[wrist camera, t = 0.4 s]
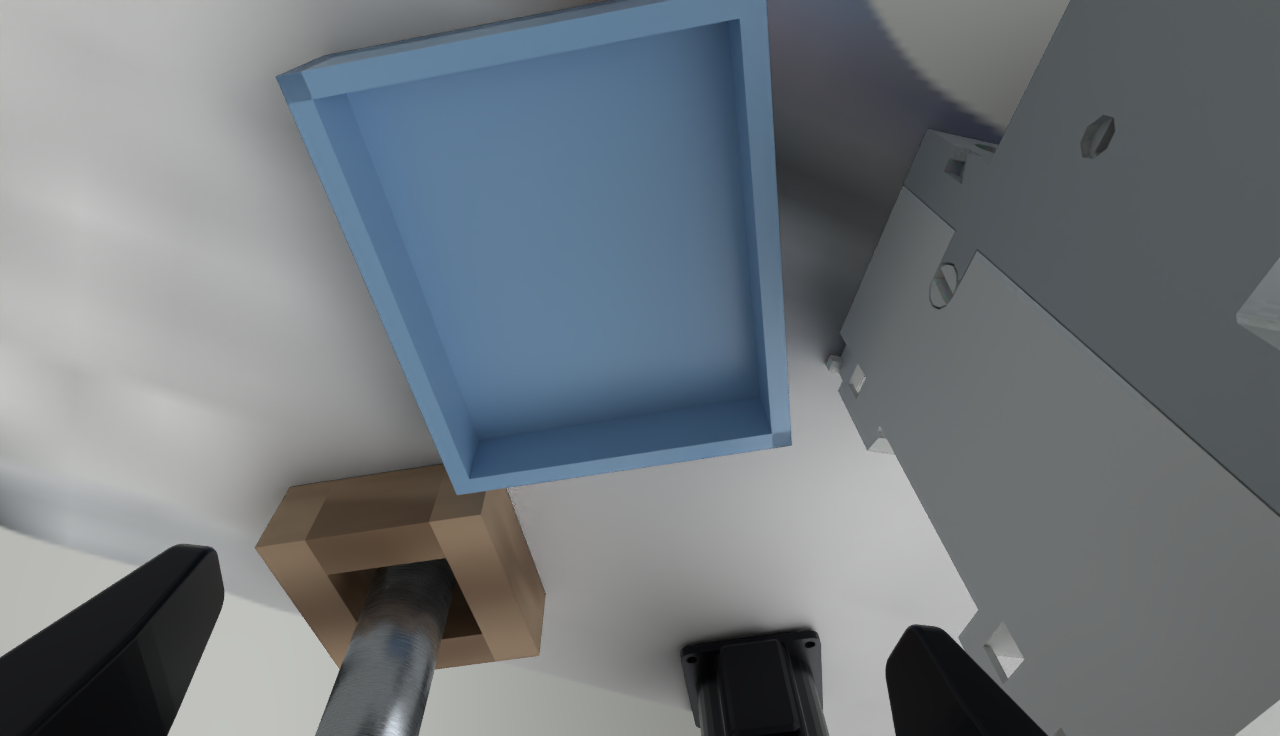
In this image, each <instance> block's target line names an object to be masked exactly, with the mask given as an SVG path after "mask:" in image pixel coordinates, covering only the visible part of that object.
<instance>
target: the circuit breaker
mask: <svg viewBox="0 0 1280 736" xmlns="http://www.w3.org/2000/svg"><path fill="white" fill-rule="evenodd" d="M840 334H841V336H842V337H843V339H844V341H845V343H846V346H845V348H844V350H843V352H842V355H841V357H840V356H835V355H830V357H829V359H828V361H827V364H826V367H827V369H828V371H831V372H837V373H839V374H840V375H841V377H842V379H843V381H842V383H841V386H840V388H839V390H838V391H839V393H840V395H841V397H842V399H843V401H844V404H845V406H846V408H847V410H848V412H849V414H850V416H851V418H852V420H853V422H854V424H855V426H856V428H857V430H858V432H859V434H860V436H861V438H862V440H863V443H864V445H865V447H866V449H867V450H868V451H874V452H881V453H887V454H894V455H896V457H897V459H898V461H899V463H900V465H901V466H902V468H903V470H904V472H905V474H906V476H907V478H908V479H909V481H910V483H911V485H912V487H913V489H914V491H915V493H916V494H917V496H918V498H919V500H920V502H921V504H922V506H923V507H924V509H925V511H926V513H927V515H928V517H929V519H930V520H931V522H932V524H933V526H934V528H935V530H936V532H937V534H938V535H939V537H940V539H941V541H942V543H943V545H944V547H945V548H946V550H947V552H948V554H949V556H950V558H951V560H952V562H953V563H954V565H955V567H956V569H957V571H958V573H959V575H960V576H961V578H962V580H963V582H964V584H965V586H966V588H967V590H968V591H969V593H970V595H971V597H972V599H973V601H974V603H975V604H976V606H977V608H978V611H977V613H976V614H975V615H974V617H973V618H972V619H971V621H970V622H969V623H968V625H967V626H966V627H965V629H964V630H963V631H962V633H961V634H960V635H959V637H958V638H959V640H960V642H961V644H962V646H963V648H964V650H965V652H966V653H967V654H968V655H969V656H970V657H971V658H972V659H973V660H974V661H975V662H976V663H977V664H978V665H979V666H980V667H981V668H982V669H983V670H984V671H985V672H986V673H987V674H988V675H989V676H990V677H991V678H992V679H993V680H994V681H995V682H996V683H997V684H998V685H999V686H1000V687H1001V688H1002V689H1003V690H1004V691H1005V692H1006V693H1007V694H1008V695H1009V696H1010V697H1011V698H1012V699H1013V700H1014V701H1015V702H1016V703H1017V704H1018V705H1019V706H1020V707H1021V708H1022V709H1023V710H1024V711H1025V713H1026V714H1027V715H1028V716H1029V717H1030V718H1031V719H1032V720H1033V721H1034V722H1035V723H1036V724H1037V725H1038V726H1039V727H1040V728H1041V729H1042V730H1043V731H1044V732H1045V733H1046V734H1047V735H1048V736H1280V0H1071V1H1070V2H1069V4H1068V6H1067V9H1066V10H1065V13H1064V15H1063V17H1062V18H1061V21H1060V23H1059V25H1058V27H1057V29H1056V31H1055V33H1054V35H1053V37H1052V39H1051V41H1050V43H1049V45H1048V47H1047V49H1046V51H1045V53H1044V55H1043V57H1042V59H1041V61H1040V63H1039V65H1038V67H1037V69H1036V71H1035V73H1034V75H1033V77H1032V79H1031V81H1030V83H1029V85H1028V87H1027V89H1026V91H1025V93H1024V95H1023V97H1022V99H1021V101H1020V103H1019V105H1018V107H1017V109H1016V111H1015V113H1014V115H1013V117H1012V119H1011V121H1010V123H1009V125H1008V127H1007V129H1006V131H1005V133H1004V135H1003V137H1002V139H1001V141H1000V143H999V145H997V144H993V143H989V142H984V141H980V140H975V139H971V138H966V137H962V136H958V135H953V134H949V133H944V132H940V131H935V130H931V129H928V130H927V131H926V133H925V135H924V137H923V140H922V142H921V144H920V147H919V149H918V151H917V154H916V156H915V158H914V161H913V163H912V165H911V168H910V170H909V172H908V175H907V177H906V179H905V182H904V185H903V186H902V188H901V191H900V193H899V196H898V198H897V200H896V203H895V205H894V207H893V210H892V212H891V214H890V217H889V219H888V221H887V224H886V226H885V228H884V231H883V233H882V235H881V238H880V240H879V242H878V245H877V247H876V249H875V252H874V254H873V256H872V259H871V261H870V263H869V266H868V268H867V270H866V273H865V275H864V277H863V280H862V282H861V284H860V287H859V289H858V291H857V294H856V296H855V298H854V301H853V303H852V305H851V308H850V310H849V312H848V315H847V317H846V319H845V322H844V324H843V326H842V329H841V331H840ZM863 377H866V379H865V381H864V383H863V386H862V388H861V390H860V392H859V394H858V393H857V390H858V388H859V386H860V384H861V381H862V379H863ZM996 655H998V656H1007V657H1017V658H1024V659H1025V660H1024V661H1023V662H1022V663H1021V664H1020V666H1019V667H1018V668H1017V669H1016V670H1015V671H1014V673H1013V674H1012V675H1011V676H1010V677H1009V678H1007V676H1006V674H1005V672H1004V670H1003V668H1002V666H1001V664H1000V663H999V661H998V659H997V657H996Z"/></svg>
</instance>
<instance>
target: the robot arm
mask: <svg viewBox="0 0 1280 736" xmlns="http://www.w3.org/2000/svg"><path fill="white" fill-rule="evenodd" d="M223 601H224V586H223V581H222V576H221V570H220V565H219V560H218V555H217V552H216V551H215V550H214V549H213V548H212V547H209V546H200V545H191V544H178V545H175V546H172V547H170V548H168V549H167V550H165V551H164V552H162V553H161V554H159V555H158V556H156V557H154V558H153V559H151V560H150V561H148V562H147V563H145V564H144V565H142V566H141V567H139V568H137V569H136V570H134V571H133V572H131V573H130V574H128V575H127V576H125V577H124V578H122V579H121V580H119V581H117V582H116V583H115V584H113V585H111V586H110V587H108V588H107V589H105V590H104V591H102V592H101V593H99V594H97V595H96V596H94V597H93V598H91V599H90V600H88V601H87V602H85V603H83V604H82V605H80V606H79V607H77V608H76V609H74V610H73V611H71V612H70V613H68V614H66V615H65V616H64V617H62V618H60V619H59V620H57V621H56V622H54V623H53V624H51V625H50V626H48V627H47V628H45V629H43V630H42V631H40V632H39V633H38V634H36V635H34V636H32V637H31V638H29V639H28V640H26V641H25V642H23V643H22V644H20V645H19V646H17V647H16V648H14V649H13V650H11V651H9V652H8V653H6V654H5V655H3V656H2V657H1V658H0V736H167V735H168V733H169V730H170V728H171V726H172V724H173V722H174V719H175V717H176V715H177V712H178V710H179V708H180V706H181V703H182V701H183V699H184V696H185V693H186V692H187V689H188V687H189V684H190V682H191V679H192V677H193V675H194V673H195V670H196V668H197V666H198V663H199V661H200V659H201V656H202V654H203V652H204V649H205V647H206V644H207V642H208V640H209V638H210V635H211V633H212V630H213V628H214V626H215V623H216V621H217V619H218V616H219V614H220V611H221V608H222V605H223ZM681 662H682V667H683V671H684V676H685V680H686V684H687V689H688V693H689V698H690V702H691V707H692V711H693V715H694V720H695V724H696V726H697V727H699V728H701V736H829V733H828V729H827V726H826V722H825V718H824V714H823V711H822V710H823V697H822V667H821V643H820V639H819V636H818V633H817V632H815V631H800V632H792V633H785V634H777V635H770V636H762V637H754V638H747V639H739V640H731V641H724V642H716V643H709V644H701V645H693V646H688V647H685V648H683V649H682V650H681ZM886 682H887V688H888V693H889V699H890V705H891V711H892V716H893V722H894V728H895V734H896V736H1048V735H1047V734H1046V733H1045V732H1044V731H1043V730H1042V729H1041V728H1040V727H1039V726H1038V725H1037V724H1036V723H1035V722H1034V721H1033V720H1032V719H1031V718H1030V717H1029V716H1028V715H1027V714H1026V713H1025V711H1024V710H1023V709H1022V708H1021V707H1020V706H1019V705H1018V704H1017V703H1016V702H1015V701H1014V700H1013V699H1012V698H1011V697H1010V696H1009V695H1008V694H1007V693H1006V692H1005V691H1004V690H1003V689H1002V688H1001V687H1000V686H999V685H998V684H997V683H996V682H995V681H994V680H993V679H992V678H991V677H990V676H989V675H988V674H987V673H986V672H985V671H984V670H983V669H982V668H981V667H980V666H979V665H978V664H977V663H976V662H975V661H974V660H973V659H972V658H971V657H970V656H969V655H968V654H967V653H966V652H965V651H964V650H963V649H962V648H961V647H960V646H959V645H958V644H957V643H956V642H955V641H954V640H953V639H952V638H951V637H950V636H949V635H948V634H947V633H946V632H945V631H944V630H942V629H941V628H938V627H935V626H926V625H917V624H915V625H911V626H909V627H908V628H907V629H906V630H905V632H904V633H903V635H902V637H901V638H900V640H899V642H898V643H897V645H896V646H895V648H894V650H893V651H892V653H891V654H890V656H889V658H888V660H887V664H886Z"/></svg>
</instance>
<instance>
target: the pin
mask: <svg viewBox="0 0 1280 736" xmlns="http://www.w3.org/2000/svg"><path fill="white" fill-rule="evenodd" d="M455 583H456V578H455V576H454V573H453V571H452V569H451V567H450V565H449V563H448V561H447V559H446V558H442V559H435V560H428V561H421V562H414V563H407V564H400V565H393V566H386V567H379V568H377V571H376V573H375V576H374V579H373V581H372V584H371V587H370V589H369V592H368V595H367V598H366V600H365V603H364V606H363V608H362V611H361V614H360V616H359V619H358V622H357V624H356V627H355V630H354V633H353V635H352V638H351V641H350V643H349V646H348V649H347V651H346V654H345V657H344V660H343V662H342V665H341V668H340V670H339V673H338V676H337V678H336V681H335V684H334V686H333V689H332V692H331V695H330V697H329V700H328V703H327V705H326V708H325V711H324V714H323V716H322V719H321V722H320V724H319V727H318V730H317V732H316V735H315V736H418V735H419V731H420V727H421V723H422V719H423V715H424V711H425V707H426V702H427V698H428V694H429V690H430V686H431V682H432V678H433V674H434V670H435V665H436V661H437V657H438V653H439V649H440V645H441V641H442V637H443V633H444V628H445V624H446V620H447V616H448V612H449V608H450V604H451V600H452V595H453V591H454V587H455Z"/></svg>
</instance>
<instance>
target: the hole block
mask: <svg viewBox="0 0 1280 736" xmlns="http://www.w3.org/2000/svg"><path fill="white" fill-rule="evenodd" d="M255 549H256V550H257V552H258V553H259V555H260V556H261V557H262V559H263V560H264V562H265V563H266V565H267V566H268V567H269V569H270V570H271V572H272V573H273V575H274V576H275V577H276V579H277V580H278V582H279V583H280V585H281V586H282V587H283V589H284V590H285V592H286V593H287V595H288V596H289V597H290V599H291V600H292V602H293V603H294V605H295V606H296V607H297V609H298V610H299V612H300V613H301V615H302V616H303V617H304V619H305V620H306V622H307V623H308V624H309V626H310V627H311V629H312V630H313V632H314V633H315V635H316V636H317V637H318V639H319V640H320V642H321V643H322V645H323V646H324V647H325V649H326V650H327V652H328V653H329V655H330V656H331V658H332V659H333V660H334V662H335V663H336V664H337V666H338V667H339V669H340V668H341V665H342V662H343V660H344V657H345V654H346V651H347V649H348V646H349V643H350V641H351V638H352V635H353V633H354V630H355V627H356V624H357V622H358V619H359V616H360V614H361V611H362V608H363V606H364V603H365V600H366V598H367V595H368V592H369V589H370V587H371V584H372V581H373V579H374V576H375V573H376V571H377V568H379V567H386V566H393V565H400V564H407V563H414V562H421V561H428V560H435V559H442V558H446V559H447V561H448V563H449V565H450V567H451V569H452V571H453V573H454V576H455V578H456V583H455V587H454V591H453V595H452V600H451V604H450V608H449V612H448V616H447V620H446V624H445V628H444V633H443V637H442V641H441V645H440V649H439V653H438V657H437V661H436V665H435V669H442V668H449V667H457V666H465V665H471V664H480V663H487V662H495V661H502V660H510V659H518V658H525V657H533V656H539V653H540V644H541V634H542V624H543V615H544V605H545V595H546V593H545V591H544V588H543V585H542V583H541V580H540V577H539V575H538V572H537V569H536V567H535V564H534V561H533V559H532V556H531V553H530V551H529V548H528V545H527V543H526V540H525V537H524V535H523V532H522V529H521V527H520V524H519V521H518V519H517V516H516V514H515V511H514V508H513V506H512V503H511V500H510V498H509V495H508V492H507V490H506V488H502V489H496V490H489V491H482V492H475V493H469V494H462V495H457V494H456V492H455V490H454V487H453V485H452V483H451V480H450V478H449V476H448V473H447V471H446V469H445V466H444V464H439V465H433V466H426V467H419V468H413V469H406V470H400V471H393V472H387V473H380V474H373V475H367V476H360V477H354V478H347V479H340V480H334V481H327V482H321V483H314V484H308V485H301V486H294V487H290V488H289V490H288V491H287V493H286V495H285V496H284V498H283V500H282V502H281V503H280V505H279V507H278V508H277V510H276V512H275V514H274V515H273V517H272V519H271V521H270V522H269V524H268V526H267V527H266V529H265V531H264V533H263V534H262V536H261V538H260V539H259V541H258V543H257V545H256V546H255Z"/></svg>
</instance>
